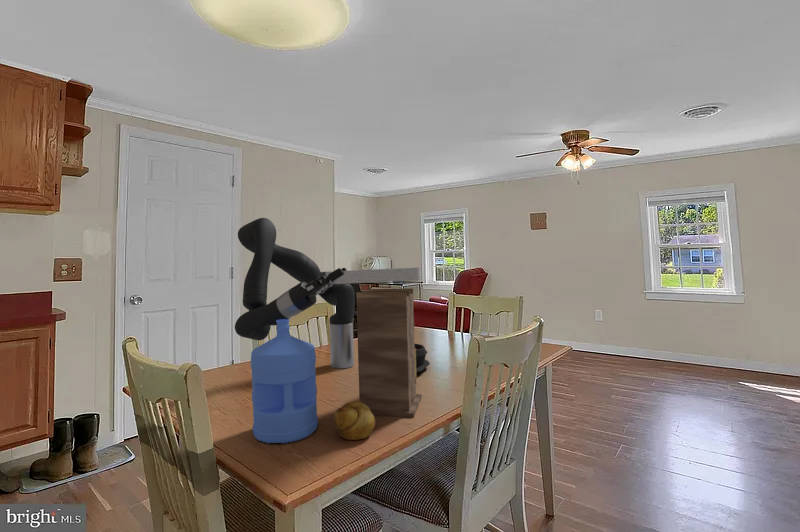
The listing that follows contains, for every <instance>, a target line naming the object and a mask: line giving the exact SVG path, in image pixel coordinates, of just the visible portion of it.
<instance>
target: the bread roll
mask: <svg viewBox="0 0 800 532" xmlns="http://www.w3.org/2000/svg"><path fill="white" fill-rule="evenodd" d="M333 417H334V422H335V425H336V430H337V433H338V435H339V436H340V437H341V438H342V439H345V440H347V441H359V440H362V439H366V438H369V436H370V435H371V434H372V433H373V432H374V430H375V427H376V418H375V415H373V414H372V413H371V411H370V409H369V407H368V406H367V405H365V404H363V403H362V402H360V401H359V400H358V401H357V400H354V401H349V402H346V403H345V404H343V405H342V406H341V407H339V408H338V409H337V410H336V411H335V413H334V414H333Z"/></svg>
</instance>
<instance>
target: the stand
mask: <svg viewBox="0 0 800 532" xmlns="http://www.w3.org/2000/svg"><path fill="white" fill-rule="evenodd" d="M355 293H356V294H355V297H356V325H357V326H356V329H357V354H358V355H357V358H358V359H357V360H358V361H357V363H358V364H357V365H358V366H357V367H358V395H359V396H358V398H359V399H358V401H360V402H362V403H363V404H365V405H367V406H368V407H369V409H370V411H371V413H372V414H373V416H380V417H381V416H382V417H400V418H401V417H402V418H415V415H416V413H417V410H418V408H419V406H420V403H421V400H422V394H417V392H416V389H417V388H416V385H417V384H415V344H416V343H415V314H414V313H415V312H414V311H415V310H414V304H415V303H414V288H410V287H409V288H367V290H361V291H357V292H355Z"/></svg>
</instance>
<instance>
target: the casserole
mask: <svg viewBox="0 0 800 532" xmlns="http://www.w3.org/2000/svg"><path fill="white" fill-rule="evenodd" d="M414 344H415V348H416V373H420V372H423V371H424V370H425V368H427V367H428V366H430V362H429V360H427V359H426V355H427V353H428V351H427V350H426V347H425V345H422V344H420V343H414Z"/></svg>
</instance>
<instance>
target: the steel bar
mask: <svg viewBox="0 0 800 532" xmlns="http://www.w3.org/2000/svg"><path fill="white" fill-rule="evenodd" d="M332 272H333V271H332V270H331V271H320V277H321V276H325V275H326V274H330V273H332ZM414 281H415V282H416V281H418V282H419V281H420V267H399V268H398V267H397V268H396V267H395V268H379V269H378V268H376V269H373V268H372V269H354V270H347V271H343V275H342V276H340V277H339V278H337V279H336V280H334V281H332V283H330V284H345V283H347V284H365V283H366V284H367V283H369V284H370V283H389V282H391V283H393V282H394V283H395V282H414ZM320 283H321V282H320Z"/></svg>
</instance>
